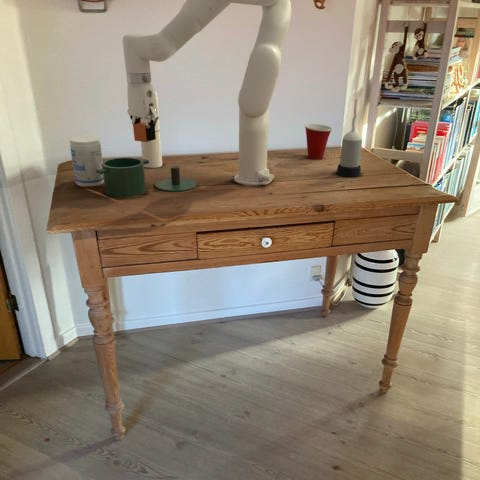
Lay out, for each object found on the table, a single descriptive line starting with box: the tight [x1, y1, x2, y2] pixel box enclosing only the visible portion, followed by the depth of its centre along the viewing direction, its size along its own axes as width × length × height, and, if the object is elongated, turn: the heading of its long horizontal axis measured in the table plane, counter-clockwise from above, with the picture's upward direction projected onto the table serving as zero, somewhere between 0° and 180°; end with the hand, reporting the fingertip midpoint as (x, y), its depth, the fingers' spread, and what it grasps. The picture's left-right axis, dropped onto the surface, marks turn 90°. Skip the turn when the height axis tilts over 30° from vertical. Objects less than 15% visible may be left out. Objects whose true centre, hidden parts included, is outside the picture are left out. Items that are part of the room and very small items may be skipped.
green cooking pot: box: [96, 156, 149, 199], centre depth 165 cm, size 13×18×10 cm
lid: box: [154, 165, 198, 193], centre depth 171 cm, size 14×14×7 cm
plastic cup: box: [304, 123, 334, 160], centre depth 203 cm, size 11×11×12 cm
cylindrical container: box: [140, 91, 163, 169], centre depth 189 cm, size 7×7×25 cm
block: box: [132, 122, 156, 143], centre depth 172 cm, size 5×5×5 cm
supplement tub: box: [69, 135, 104, 188], centre depth 171 cm, size 10×10×15 cm
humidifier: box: [336, 98, 363, 178], centre depth 180 cm, size 8×8×25 cm
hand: (145, 138), depth 173 cm, fingers closed on block, 6 cm apart
